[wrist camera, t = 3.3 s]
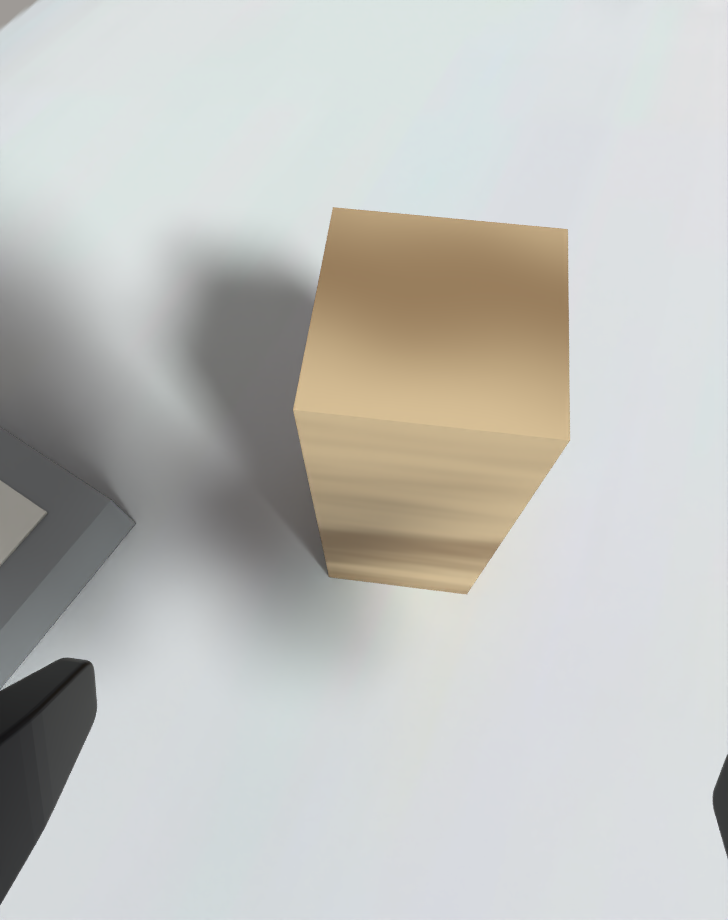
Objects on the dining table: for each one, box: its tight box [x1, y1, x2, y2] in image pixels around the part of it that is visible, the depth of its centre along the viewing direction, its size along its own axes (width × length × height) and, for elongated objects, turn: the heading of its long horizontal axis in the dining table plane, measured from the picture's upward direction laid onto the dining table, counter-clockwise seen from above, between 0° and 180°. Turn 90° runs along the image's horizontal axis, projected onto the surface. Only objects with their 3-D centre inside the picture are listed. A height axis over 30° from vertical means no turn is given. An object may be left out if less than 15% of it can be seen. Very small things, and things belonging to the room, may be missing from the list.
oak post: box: [293, 207, 570, 594], centre depth 18 cm, size 5×5×12 cm
